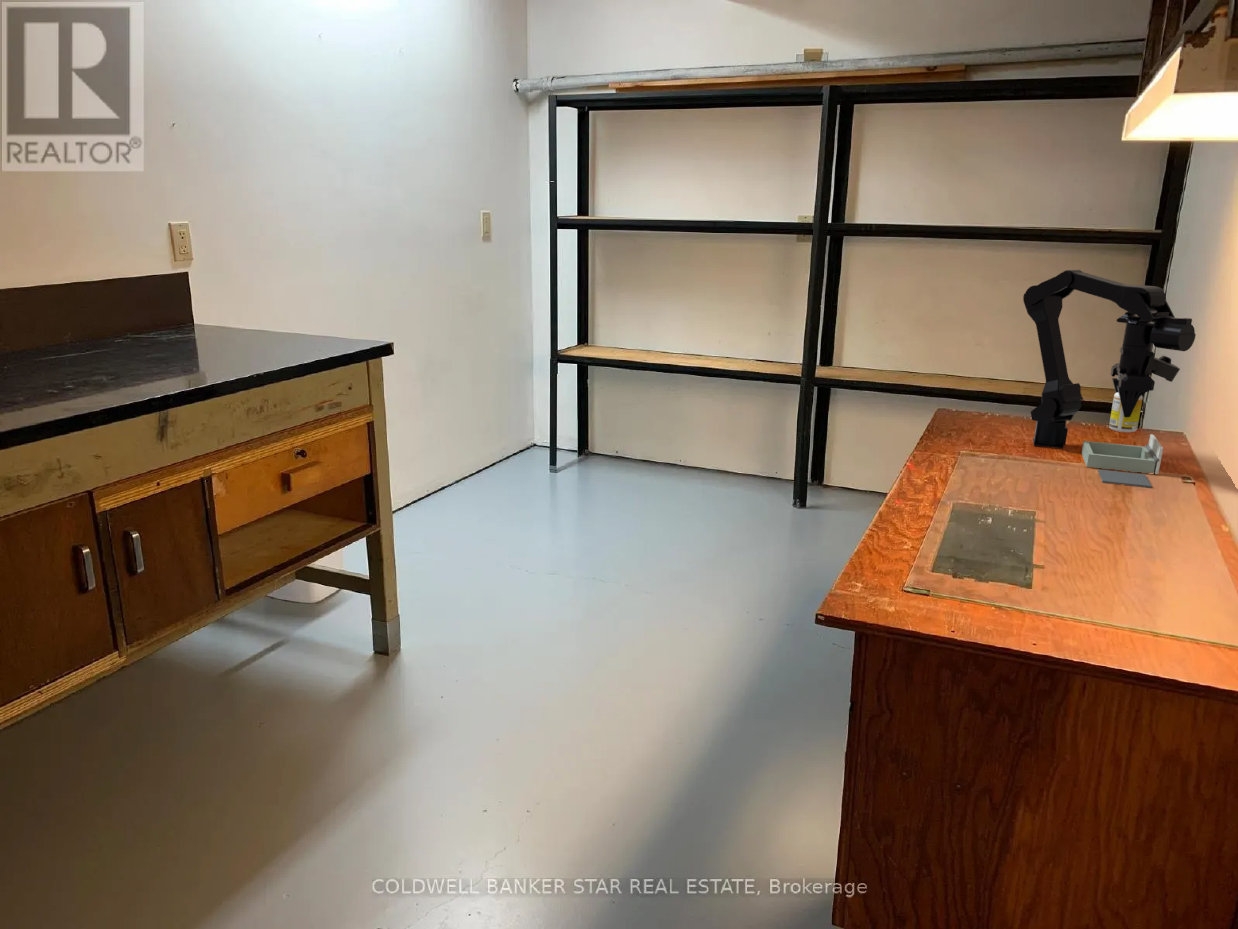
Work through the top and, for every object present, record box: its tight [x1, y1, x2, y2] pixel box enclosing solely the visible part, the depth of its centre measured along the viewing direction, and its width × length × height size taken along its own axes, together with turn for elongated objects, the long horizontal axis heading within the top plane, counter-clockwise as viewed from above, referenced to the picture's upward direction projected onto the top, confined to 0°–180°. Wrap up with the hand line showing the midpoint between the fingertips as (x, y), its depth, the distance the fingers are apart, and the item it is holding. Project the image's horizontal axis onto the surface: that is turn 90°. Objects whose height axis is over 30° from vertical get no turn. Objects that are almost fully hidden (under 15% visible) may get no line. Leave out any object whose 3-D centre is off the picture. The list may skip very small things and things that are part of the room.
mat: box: [1097, 469, 1153, 489], centre depth 183 cm, size 9×9×1 cm
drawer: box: [1081, 433, 1164, 475], centre depth 194 cm, size 14×13×6 cm
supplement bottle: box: [1108, 392, 1144, 433], centre depth 191 cm, size 6×6×10 cm
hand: (1125, 414), depth 192 cm, fingers closed on supplement bottle, 5 cm apart
